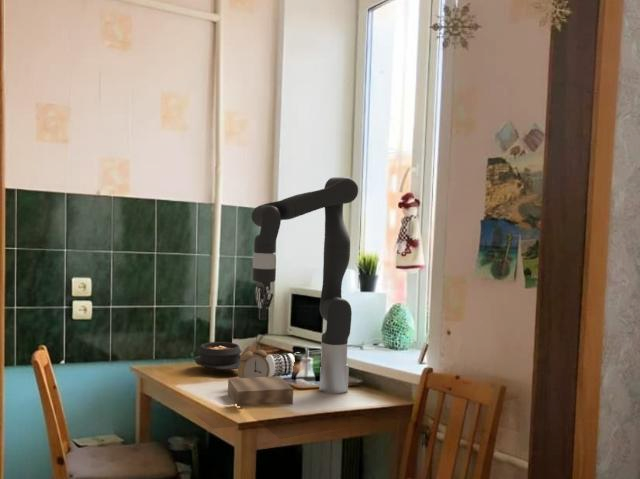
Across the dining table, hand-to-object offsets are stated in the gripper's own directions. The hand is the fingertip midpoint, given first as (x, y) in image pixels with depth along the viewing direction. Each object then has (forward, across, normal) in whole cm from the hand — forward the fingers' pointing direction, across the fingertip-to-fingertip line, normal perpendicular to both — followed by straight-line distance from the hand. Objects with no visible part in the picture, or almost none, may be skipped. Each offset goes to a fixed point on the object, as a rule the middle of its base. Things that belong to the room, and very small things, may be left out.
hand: (262, 319), depth 222 cm
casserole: (+27, +48, +1) cm, 55 cm away
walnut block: (+27, 0, 0) cm, 27 cm away
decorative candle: (+22, +28, -12) cm, 38 cm away
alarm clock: (+27, +17, -3) cm, 32 cm away
